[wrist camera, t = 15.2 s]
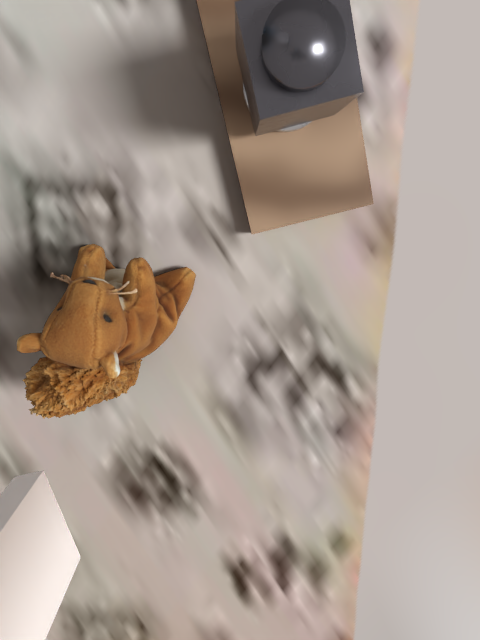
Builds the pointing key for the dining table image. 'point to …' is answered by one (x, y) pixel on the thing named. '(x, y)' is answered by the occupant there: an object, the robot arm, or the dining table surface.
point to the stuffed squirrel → (101, 331)
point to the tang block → (284, 145)
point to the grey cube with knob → (296, 60)
